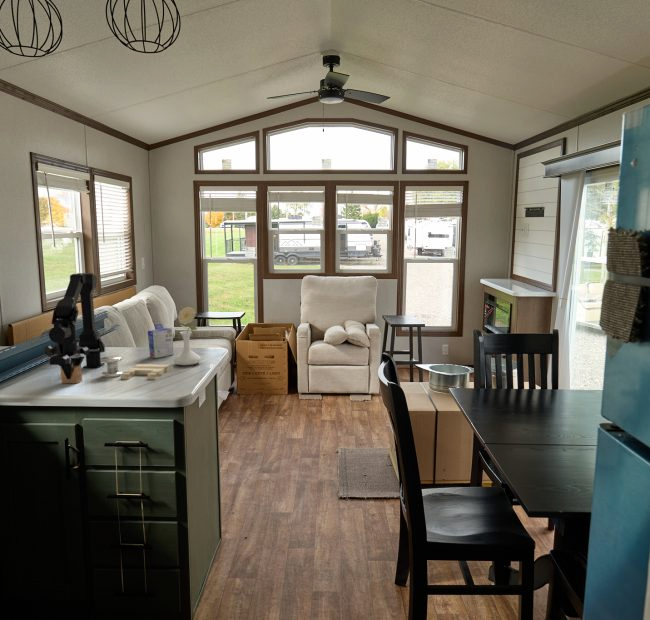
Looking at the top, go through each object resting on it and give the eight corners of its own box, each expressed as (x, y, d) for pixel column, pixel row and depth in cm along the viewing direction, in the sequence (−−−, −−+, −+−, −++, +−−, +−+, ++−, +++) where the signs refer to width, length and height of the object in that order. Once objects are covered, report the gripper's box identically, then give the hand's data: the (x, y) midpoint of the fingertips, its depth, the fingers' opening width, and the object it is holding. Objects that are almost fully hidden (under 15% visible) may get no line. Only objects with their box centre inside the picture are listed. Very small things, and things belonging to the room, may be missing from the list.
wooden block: (67, 380, 220) (66, 365, 219) (82, 380, 219) (80, 365, 219) (61, 383, 216) (60, 367, 215) (76, 383, 215) (75, 367, 215)
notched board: (137, 368, 237) (137, 364, 237) (170, 368, 236) (170, 364, 235) (120, 379, 221) (120, 374, 221) (155, 379, 220) (155, 374, 220)
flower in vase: (168, 364, 243) (165, 306, 240) (191, 359, 252) (188, 303, 248) (186, 369, 235) (182, 309, 231) (209, 364, 243) (206, 305, 239)
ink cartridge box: (168, 353, 266) (166, 322, 264) (174, 354, 262) (172, 323, 260) (148, 356, 259) (146, 325, 257) (154, 358, 255) (152, 326, 253)
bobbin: (108, 372, 232) (106, 355, 231) (127, 372, 231) (125, 355, 230) (98, 377, 224) (97, 360, 223) (118, 377, 223) (116, 360, 222)
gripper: (61, 332, 225) (64, 371, 227) (33, 342, 207) (37, 384, 209) (88, 332, 224) (91, 371, 226) (62, 342, 206) (66, 384, 208)
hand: (71, 377), depth 218 cm, fingers closed on wooden block, 4 cm apart
